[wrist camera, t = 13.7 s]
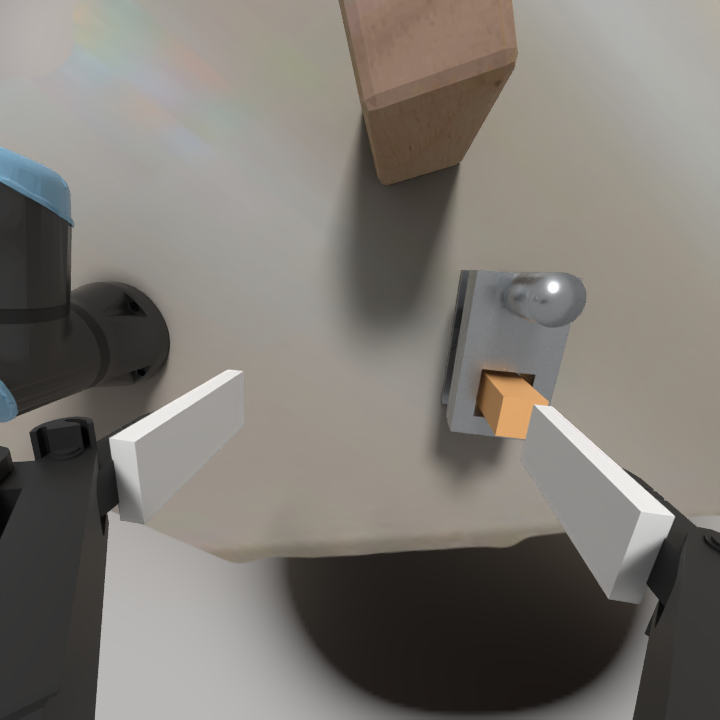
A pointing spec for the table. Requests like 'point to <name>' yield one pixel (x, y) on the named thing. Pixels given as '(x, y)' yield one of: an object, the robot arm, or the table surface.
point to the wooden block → (427, 76)
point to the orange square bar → (507, 402)
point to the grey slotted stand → (507, 336)
